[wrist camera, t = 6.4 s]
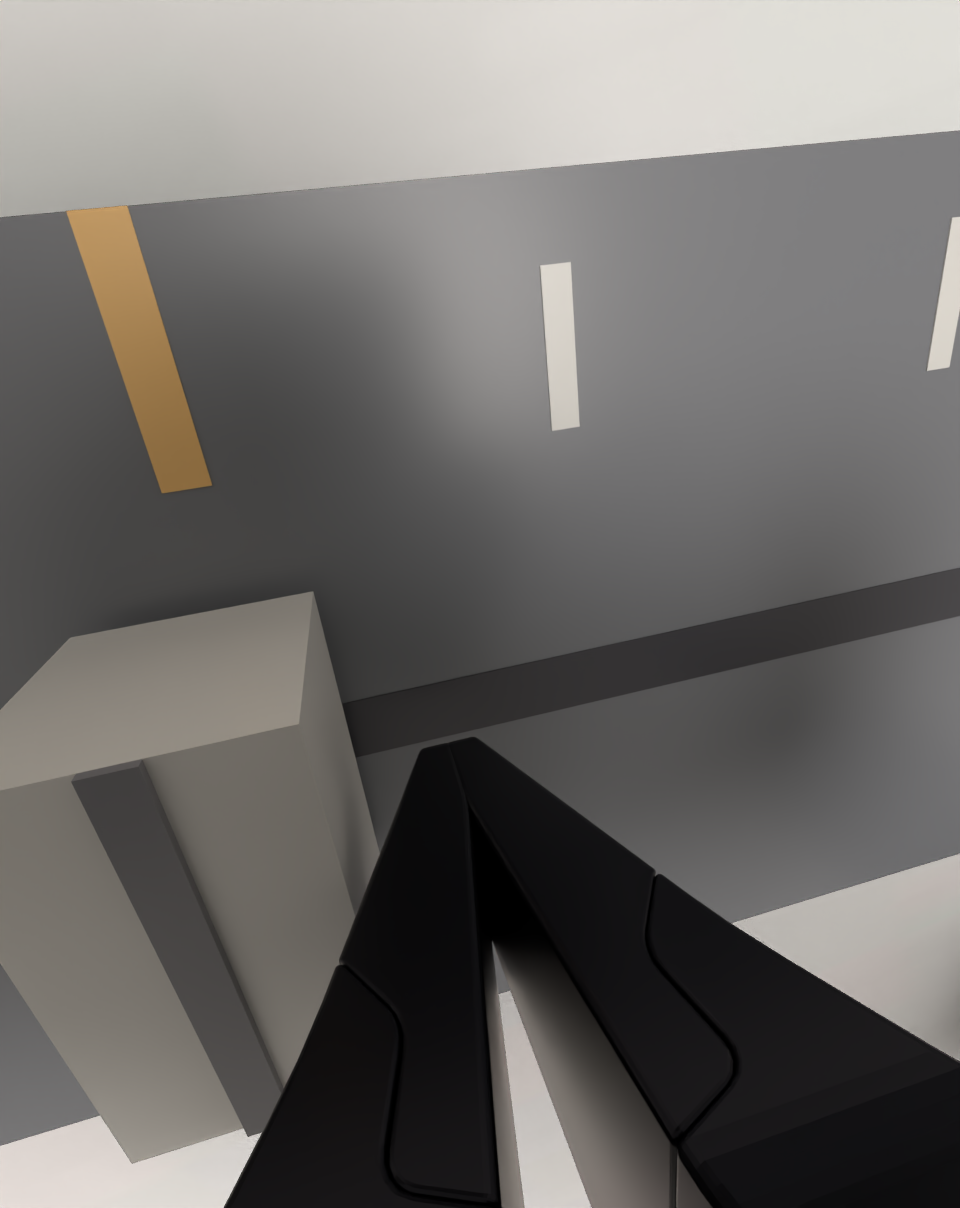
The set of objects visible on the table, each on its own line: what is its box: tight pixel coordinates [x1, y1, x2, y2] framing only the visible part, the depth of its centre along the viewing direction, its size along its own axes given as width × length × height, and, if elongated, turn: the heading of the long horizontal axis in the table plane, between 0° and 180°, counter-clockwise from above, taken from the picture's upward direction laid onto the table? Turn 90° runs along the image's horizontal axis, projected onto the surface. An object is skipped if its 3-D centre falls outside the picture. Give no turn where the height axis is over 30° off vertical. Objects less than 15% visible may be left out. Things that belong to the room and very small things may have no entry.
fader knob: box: [0, 591, 380, 1164], centre depth 7 cm, size 5×3×3 cm, turn 9°
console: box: [0, 131, 960, 1146], centre depth 11 cm, size 14×24×2 cm, turn 99°
